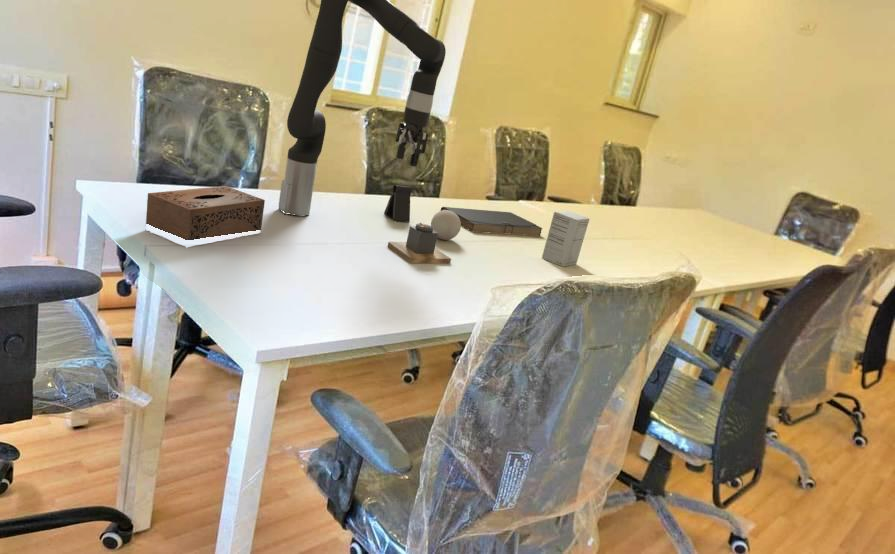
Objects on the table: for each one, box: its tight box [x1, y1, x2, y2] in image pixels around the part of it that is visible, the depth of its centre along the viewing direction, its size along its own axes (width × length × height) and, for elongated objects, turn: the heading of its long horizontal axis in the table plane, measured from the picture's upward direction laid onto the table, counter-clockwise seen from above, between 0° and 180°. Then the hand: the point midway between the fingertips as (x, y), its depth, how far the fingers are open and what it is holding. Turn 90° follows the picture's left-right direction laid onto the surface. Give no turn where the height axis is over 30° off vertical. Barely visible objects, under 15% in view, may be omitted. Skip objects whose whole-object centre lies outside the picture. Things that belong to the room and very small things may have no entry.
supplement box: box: [541, 210, 590, 268], centre depth 215 cm, size 10×9×17 cm
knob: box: [406, 222, 438, 254], centre depth 188 cm, size 6×6×8 cm
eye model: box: [430, 210, 462, 241], centre depth 211 cm, size 10×10×10 cm
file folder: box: [440, 206, 543, 237], centre depth 248 cm, size 33×4×24 cm
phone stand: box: [383, 184, 412, 223], centre depth 224 cm, size 9×6×12 cm, turn 31°
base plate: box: [387, 241, 452, 264], centre depth 189 cm, size 14×14×2 cm
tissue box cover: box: [145, 185, 266, 240], centre depth 166 cm, size 26×14×10 cm, turn 154°
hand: (406, 162), depth 190 cm, fingers open, 8 cm apart
